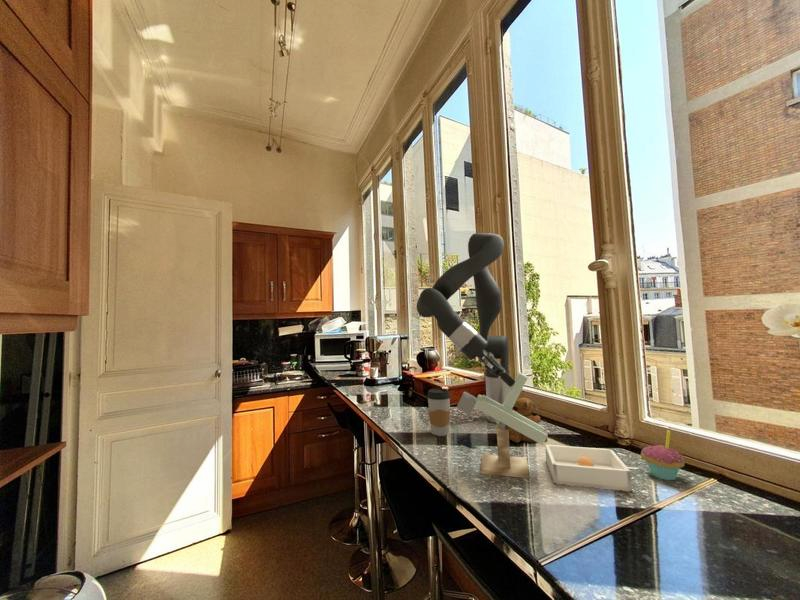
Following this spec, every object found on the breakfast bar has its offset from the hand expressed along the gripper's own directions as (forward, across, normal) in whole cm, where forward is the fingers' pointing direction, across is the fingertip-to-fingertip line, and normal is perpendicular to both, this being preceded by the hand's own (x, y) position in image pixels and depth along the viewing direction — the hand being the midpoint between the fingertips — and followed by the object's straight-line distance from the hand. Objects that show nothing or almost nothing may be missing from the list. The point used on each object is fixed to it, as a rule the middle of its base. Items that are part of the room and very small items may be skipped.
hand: (512, 384), depth 93 cm
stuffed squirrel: (+17, -19, -13) cm, 29 cm away
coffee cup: (-2, -18, -33) cm, 38 cm away
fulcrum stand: (+13, +4, -17) cm, 22 cm away
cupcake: (+40, 0, +10) cm, 41 cm away
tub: (+27, +4, -3) cm, 27 cm away
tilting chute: (+4, +3, -11) cm, 12 cm away
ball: (+25, +4, -1) cm, 25 cm away
